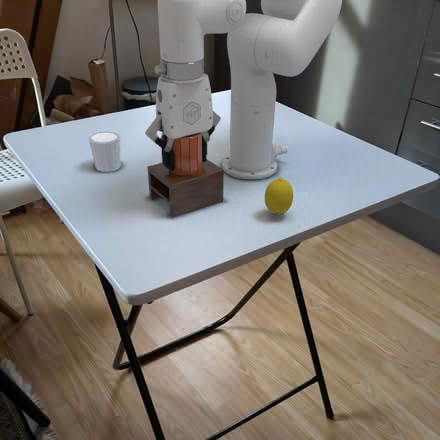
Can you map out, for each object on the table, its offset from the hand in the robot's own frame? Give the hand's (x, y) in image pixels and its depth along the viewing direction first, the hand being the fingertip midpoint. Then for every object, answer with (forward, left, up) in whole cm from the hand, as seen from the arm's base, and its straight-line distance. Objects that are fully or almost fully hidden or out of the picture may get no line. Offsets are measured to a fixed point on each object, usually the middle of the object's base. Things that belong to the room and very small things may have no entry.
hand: (185, 163), depth 102 cm
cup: (0, 0, -1) cm, 1 cm away
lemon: (-12, +15, -8) cm, 21 cm away
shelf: (0, 0, -8) cm, 8 cm away
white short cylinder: (+7, -23, -8) cm, 25 cm away
